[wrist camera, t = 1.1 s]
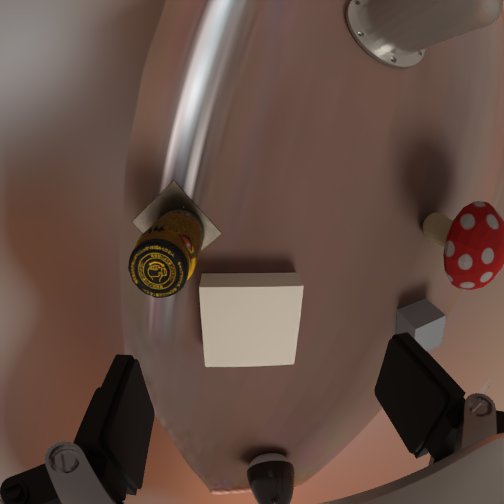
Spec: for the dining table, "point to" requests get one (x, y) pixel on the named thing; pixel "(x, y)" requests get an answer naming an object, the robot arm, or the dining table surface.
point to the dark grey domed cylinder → (271, 479)
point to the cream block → (250, 318)
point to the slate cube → (422, 323)
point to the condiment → (169, 243)
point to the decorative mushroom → (469, 244)
